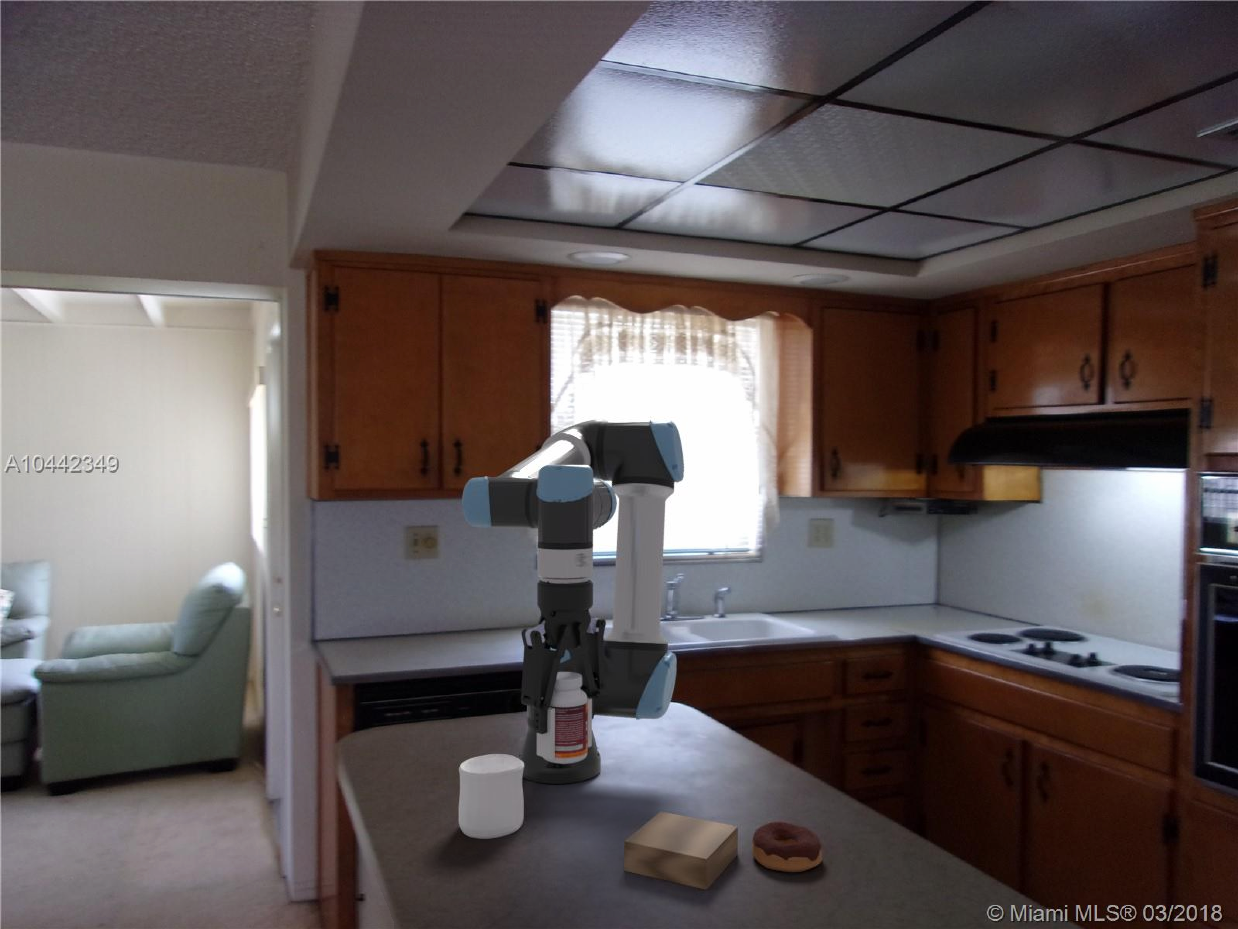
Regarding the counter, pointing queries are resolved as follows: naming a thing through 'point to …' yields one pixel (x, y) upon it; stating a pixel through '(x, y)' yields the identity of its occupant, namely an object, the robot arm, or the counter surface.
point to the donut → (786, 847)
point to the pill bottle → (569, 718)
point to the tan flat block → (681, 849)
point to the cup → (491, 796)
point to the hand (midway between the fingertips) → (564, 750)
